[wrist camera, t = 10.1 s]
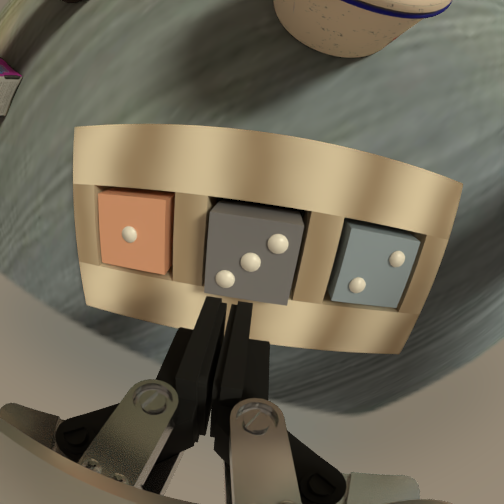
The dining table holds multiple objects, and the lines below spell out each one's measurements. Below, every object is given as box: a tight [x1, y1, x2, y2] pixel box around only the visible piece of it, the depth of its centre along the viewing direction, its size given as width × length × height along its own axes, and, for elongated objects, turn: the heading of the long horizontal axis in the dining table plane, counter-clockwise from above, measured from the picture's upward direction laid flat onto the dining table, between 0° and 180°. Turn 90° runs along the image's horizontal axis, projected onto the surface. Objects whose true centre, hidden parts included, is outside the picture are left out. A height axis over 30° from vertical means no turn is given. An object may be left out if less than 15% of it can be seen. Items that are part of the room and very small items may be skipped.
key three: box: [204, 200, 304, 306], centre depth 17 cm, size 5×5×3 cm
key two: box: [327, 217, 420, 308], centre depth 18 cm, size 5×5×3 cm
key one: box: [98, 187, 175, 275], centre depth 18 cm, size 5×5×3 cm
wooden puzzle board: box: [73, 124, 463, 354], centre depth 18 cm, size 26×14×3 cm, turn 83°
